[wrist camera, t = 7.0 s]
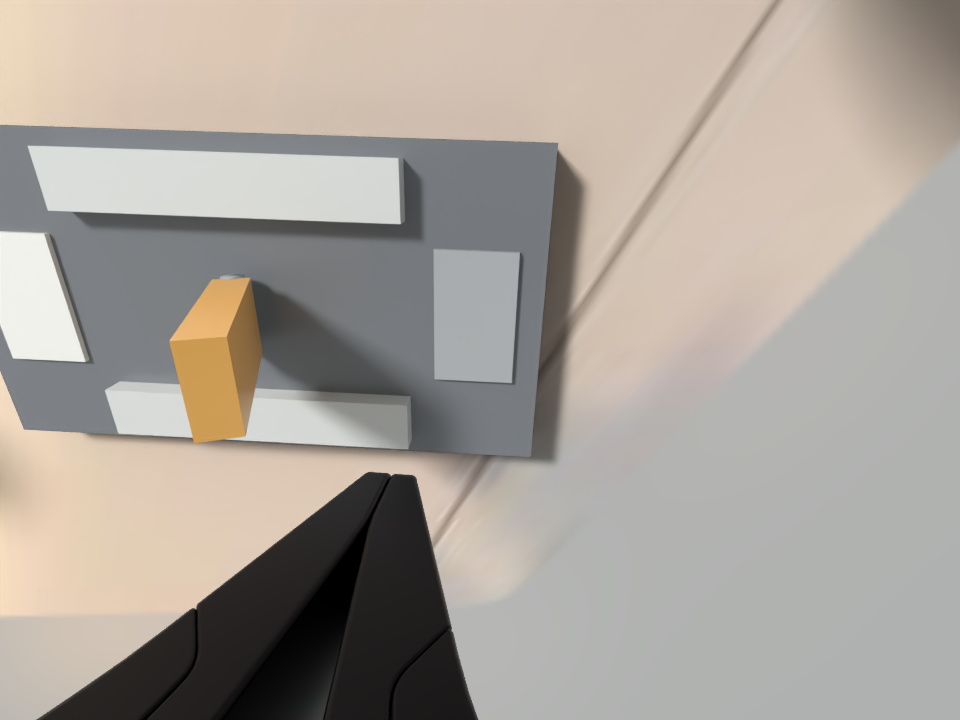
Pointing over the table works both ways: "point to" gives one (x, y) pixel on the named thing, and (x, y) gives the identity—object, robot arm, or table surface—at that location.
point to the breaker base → (279, 281)
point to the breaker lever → (219, 359)
